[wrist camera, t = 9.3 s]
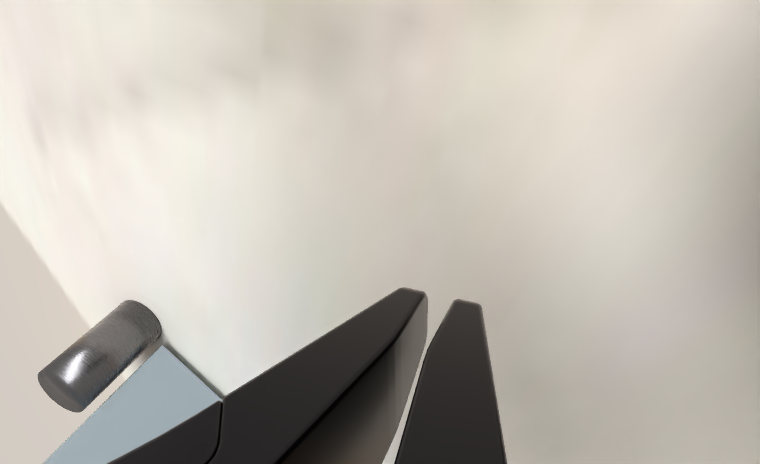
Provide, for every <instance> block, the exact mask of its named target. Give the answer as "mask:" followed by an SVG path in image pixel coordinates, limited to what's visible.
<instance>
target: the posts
mask: <svg viewBox="0 0 760 464" xmlns="http://www.w3.org/2000/svg"><path fill="white" fill-rule="evenodd" d="M160 334H161V326H160V323H159V321H158V319H157V318H156V317H155V315H154V314H153V313H152V312H151V311H150V310H149V309H148V308H147V307H145V306H144V305H142V304H140V303H138V302H136V301H132V300H127V301H124V302H123V303H121V304H120V305H119V306H118V307H117V308H116V309H114V310H113V311H112V312H111V313H110V314H108V315H107V316H106V317H105V318H104V319H102V320H101V321H100V322H99V323H98V324H96V325H95V326H94V327H93V328H92V329H90V330H89V331H88V332H87V333H86V334H85V335H83V336H82V337H81V338H80V339H79V340H77V341H76V342H75V343H74V344H73V345H71V346H70V347H69V348H68V349H67V350H65V351H64V352H63V353H62V354H61V355H59V356H58V357H57V358H56V359H55V360H53V361H52V362H51V363H50V364H49V365H47V366H46V367H45V368H44V369H43V370H41V371H40V372H39V374H38V380H39V383H40V385H41V387H42V388H43V390H44V391H45V392H46V393H47V394H48V396H49V397H50V398H51V399H52V400H54V401H55V402H56V403H57V404H59V405H60V406H62V407H63V408H65V409H67V410H70V411H72V412H81V411H83V410H84V409H85V408H86V407H87V406H88V405H89V404H90V403H91V402H92V401H93V400H94V399H95V398H96V397H97V396H98V395H99V394H100V393H101V392H103V391H104V390H105V388H107V387H108V386H109V385H110V384H111V383H112V382H113V381H114V380H115V379H116V378H117V377H118V376H119V375H120V374H121V373H122V372H123V371H124V370H125V369H126V368H127V367H128V366H129V365H130V364H131V363H132V362H133V361H134V360H135V359H136V358H137V357H139V356H140V355H141V354H142V353H143V352H144V351H145V350H146V349H147V348H148V347H149V346H150V345H151V344H152V343H153V342H154V341H155V340H156V339H157V338H158V337H159V336H160Z"/></svg>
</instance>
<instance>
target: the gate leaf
mask: <svg viewBox="0 0 760 464" xmlns="http://www.w3.org/2000/svg"><path fill="white" fill-rule="evenodd" d="M218 400H220V401H222V402H223V400H222V399H221V398H219V397H218V396H217V395H216V394H215V393H214V392H213V391H212V390H211V389H210V388H209V387H208V386H206V385H205V384H204V383H203V382H202V381H201V380H200V379H199V378H198V377H197V376H196V375H195V374H193V373H192V372H191V371H190V370H189V369H188V368H187V367H186V366H185V365H184V364H183V363H182V362H180V361H179V360H178V359H177V358H176V357H175V356H174V355H173V354H172V353H171V352H170V351H169V350H167V349H166V348H165V347H164V346H163V345H162V346H161V347H160V348H159V349H157V350H156V351H155V352H154V353H153V354H152V355H151V356H150V357H149V358H148V359H147V360H146V361H145V362H144V363H143V364H142V365H141V366H140V367H139V368H138V369H137V370H136V371H135V372H134V373H133V374H132V375H131V376H130V377H129V378H128V379H127V380H126V381H125V382H124V383H123V384H122V385H121V386H120V387H119V388H118V389H117V390H116V391H115V392H114V393H113V394H112V395H111V396H110V397H109V398H108V399H107V400H106V401H105V402H104V403H103V404H102V405H101V406H100V407H99V408H98V409H97V410H96V411H95V412H94V413H93V414H92V415H91V416H90V417H89V418H88V419H87V420H86V421H85V422H84V423H83V424H82V425H81V426H80V427H79V428H78V429H77V430H76V431H75V432H74V433H73V434H72V435H71V436H70V437H69V438H68V439H67V440H66V441H65V442H64V443H63V444H62V445H61V446H60V447H59V448H58V449H57V450H56V451H55V452H54V453H53V454H52V455H51V456H50V457H49V458H48V459H47V460H46V461H45V462H44V463H43V464H107V463H109V462H111V461H112V460H114V459H116V458H118V457H120V456H122V455H124V454H126V453H128V452H130V451H131V450H133V449H135V448H137V447H139V446H141V445H143V444H145V443H146V442H148V441H150V440H152V439H154V438H156V437H158V436H160V435H161V434H163V433H165V432H166V431H168V430H170V429H171V428H173V427H175V426H176V425H178V424H180V423H182V422H183V421H185V420H187V419H188V418H190V417H192V416H193V415H195V414H197V413H198V412H200V411H202V410H203V409H205V408H207V407H208V406H210V405H211V404H213V403H215V402H216V401H218Z"/></svg>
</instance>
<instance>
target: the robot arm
mask: <svg viewBox="0 0 760 464" xmlns="http://www.w3.org/2000/svg"><path fill="white" fill-rule="evenodd" d="M427 314H428V298H427V295H426V293H425V292H423V291H418V290H414V289H409V288H399V289H397V290H396V291H394V292H393V293H391V294H389V295H388V296H386V297H384V298H383V299H381V300H380V301H378V302H376V303H375V304H373V305H372V306H370V307H368V308H367V309H365V310H363V311H362V312H360V313H359V314H357V315H355V316H354V317H352V318H351V319H349V320H347V321H346V322H344V323H343V324H341V325H339V326H338V327H336V328H334V329H333V330H331V331H330V332H328V333H326V334H325V335H323V336H322V337H320V338H318V339H317V340H315V341H313V342H312V343H310V344H309V345H307V346H305V347H304V348H302V349H301V350H299V351H297V352H296V353H294V354H292V355H291V356H289V357H288V358H286V359H284V360H283V361H281V362H280V363H278V364H276V365H275V366H273V367H271V368H270V369H268V370H267V371H265V372H263V373H262V374H260V375H259V376H257V377H255V378H254V379H252V380H250V381H249V382H247V383H246V384H244V385H242V386H241V387H239V388H238V389H236V390H234V391H233V392H231V393H229V394H228V395H226V396H225V397H224V398H223V402H222V401H220V400H218V401H216V402H215V403H213V404H211V405H210V406H208V407H207V408H205V409H203V410H202V411H200V412H198V413H197V414H195V415H193V416H192V417H190V418H188V419H187V420H185V421H183V422H182V423H180V424H178V425H176V426H175V427H173V428H171V429H170V430H168V431H166V432H165V433H163V434H161V435H160V436H158V437H156V438H154V439H152V440H150V441H148V442H146V443H145V444H143V445H141V446H139V447H137V448H135V449H133V450H131V451H130V452H128V453H126V454H124V455H122V456H120V457H118V458H116V459H114V460H112V461H111V462H109V463H107V464H382V462H383V460H384V458H385V456H386V454H387V452H388V449H389V447H390V445H391V443H392V441H393V438H394V436H395V434H396V431H397V428H398V425H399V423H400V420H401V417H402V414H403V411H404V408H405V405H406V402H407V399H408V396H409V393H410V389H411V386H412V383H413V380H414V377H415V374H416V371H417V368H418V365H419V362H420V359H421V356H422V353H423V350H424V346H425V343H426V337H427ZM394 464H507V459H506V453H505V447H504V441H503V435H502V429H501V423H500V416H499V410H498V404H497V398H496V392H495V386H494V380H493V373H492V367H491V361H490V355H489V349H488V343H487V337H486V330H485V324H484V318H483V312H482V307H481V305H480V304H478V303H474V302H469V301H465V300H460V299H457V300H454V301H453V303H452V304H451V306H450V308H449V310H448V312H447V314H446V315H445V317H444V319H443V321H442V323H441V325H440V326H439V328H438V330H437V332H436V334H435V336H434V338H433V339H432V341H431V343H430V345H429V347H428V350H427V352H426V355H425V358H424V361H423V365H422V368H421V372H420V375H419V379H418V382H417V386H416V389H415V393H414V396H413V400H412V403H411V407H410V410H409V414H408V417H407V421H406V424H405V428H404V432H403V435H402V439H401V442H400V446H399V449H398V453H397V456H396V460H395V463H394Z"/></svg>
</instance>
